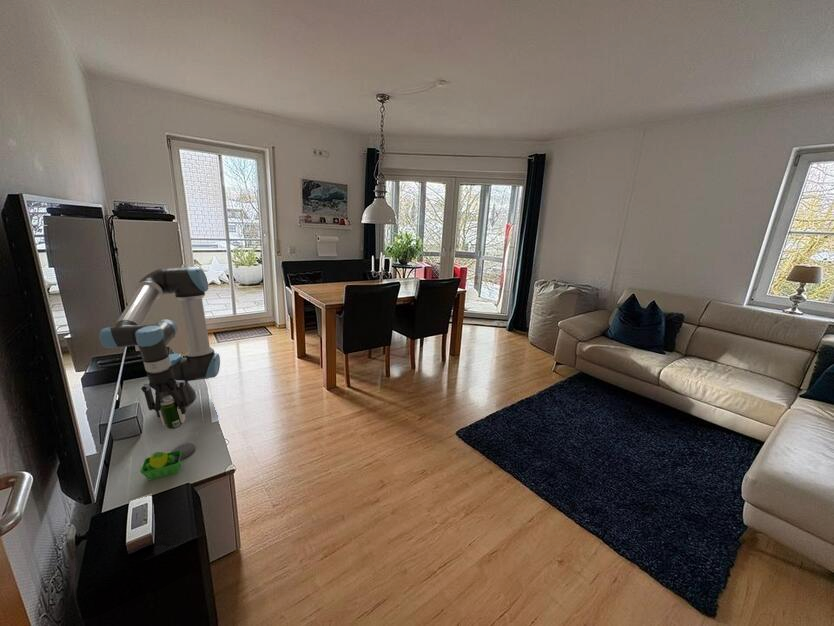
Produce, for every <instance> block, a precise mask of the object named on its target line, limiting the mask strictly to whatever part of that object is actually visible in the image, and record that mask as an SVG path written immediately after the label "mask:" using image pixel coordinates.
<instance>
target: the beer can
mask: <svg viewBox="0 0 834 626" xmlns="http://www.w3.org/2000/svg"><path fill="white" fill-rule="evenodd" d="M160 406H161V410H162V413H163V416H164V420H165V423H166V425H165V426H166V428H167V429H168V430H177V429H178V428H180V427H182V426H183V424H184V422H183V423H181V421H180V417H179V414H178V410H177V408H178V407H179V406H178V405H177V403H176V402H175V400H174V399H173V397H172V396H171V395H168V396H165V397H163V398H162V399H161V400H160Z"/></svg>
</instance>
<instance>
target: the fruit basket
mask: <svg viewBox="0 0 834 626" xmlns="http://www.w3.org/2000/svg"><path fill="white" fill-rule="evenodd" d="M180 457H181V451H180V450H179V451H175V452H172V451H171V452H166V451H155V452H154V453H153V454H151V455H150V456H149V457H146V458H145V459H144V461H143V464H142V467H141V469H140V471H139V472H140V474H142V475H143V476H144V477H146V479H147V480H148V481H150V480H154V479H158V478H163V477H166V476H170V475H174V474H178V473H179V469H180V465H181V460H180Z"/></svg>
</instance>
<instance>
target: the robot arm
mask: <svg viewBox="0 0 834 626" xmlns="http://www.w3.org/2000/svg"><path fill="white" fill-rule="evenodd" d="M207 291H209V282H208V277H207V276H206V273H205V271H204V270H203V269H202V268H201V267H198V266H179V267H162V268H159V269H155V270H153V271H151V272H148V273H147V274H146V275H145V276H144V277H142V278H141V279H140V280H139V281H138V283H137V284H136V286H135V293H134V294H133V296H132V297H131V299H130V300H129V302H128V303H127V305H126V307H125V309H124V310H123V312H122V313H121V315H120V316H119V318H118V320H117V321H116V323H115V324H114V326H108V327H105V328H102V329H101V330H100V332H99V336H98V337H99V338H98V339H99V342H100V344H101V345H102V347H104V348H105V349H114V348H115V349H118V348H127V347H135V346H138V350H139V352H140V356H141V358H142V362H143V365H144V370H145V372H146V376H147V380H148V381H149V383H144V384H143V385H142V387H140V388H141V391H142V392H143V394H144V397H145V400H146V404H147V408H148V410H149V411H153V410H154V411H155V412H156V416H157V417H158V418H160V420H161V423H162V426H166V423H165V420H164V416H163V413H162V410H161V406H160V400H161V399H162V398H163V397H165V396H168V395H171V396H172V397H173V399H174V400H175V402H176V403H177V405H178V406H179V407H178V408H177V410H178V414H179V417H180V421H181V423H183V424H184V422H185V421H186V413H187V408H186V406H189V405H188V404H190V403H191V402H193V401H195V399H196V397H197V394H196V390H195V389H194V388H193V386H192V385H191V384H190V383H189V382H191V381H192V382H193V381H198V380H199V381H200V380H209V379H214V378H217V376H218V375H219V372H220V367H221V356H220V353H217V352H215V349H214V348H212V347H211V346H210V341H209V334H208V333H209V332H208V326H207V321H206V314H205V309H204V305H203V304H204V303H203V298H204V297H205V296H206V292H207ZM169 294H174V296H175V298H176V299H177V300H178V301H180V307H181V312H182V318H183V324H184V329H185V334H186V339H187V346H188V351H187V352H186V354H185V356H184V357H183V356H182V354H181V353H171V354H169V351H168V345H169V343H170V342H171V341H172V340H173V338H175V337H176V334H177V333H178V325H177V324H176V322H174V321H173V320H171V319H167V318H166V319H161V320H158V321H156V322H154V323H146V324H145V321H146V320H147V318H148V316H149V315H150V313H151V310H152V308H153V307H154V305H155V303H156V301H157V300H159V299H160V298H161V297H162V296H164V295H169ZM152 390H154V395H153V391H152ZM154 396H155V397H154Z"/></svg>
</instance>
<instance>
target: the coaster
mask: <svg viewBox="0 0 834 626" xmlns="http://www.w3.org/2000/svg"><path fill="white" fill-rule="evenodd" d="M179 450H180V451H181V457H180V461H182V460H184V459H187V458H188V457H191V456H192V455H193V454H194V453H195V450H196V447H195V444H193V443H191V442H190V443H189V442H188V443H183V444H182V443H181V444H180V445H178V446H176V447H174V448H173V449H172V450H171V452H175V451H179Z"/></svg>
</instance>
